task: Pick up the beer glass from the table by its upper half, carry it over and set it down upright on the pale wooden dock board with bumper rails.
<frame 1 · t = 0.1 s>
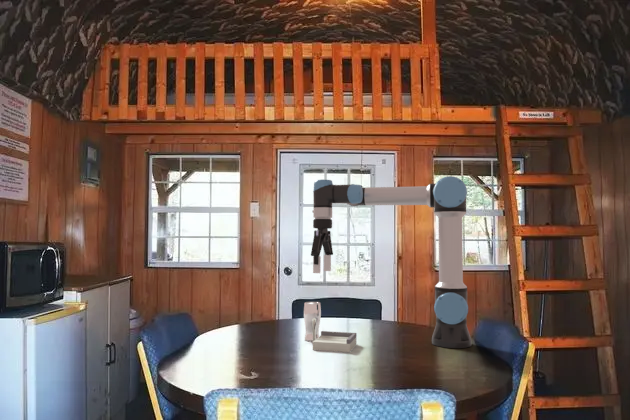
hand: (322, 272, 205), 28 cm above the table, fingers open, 13 cm apart
beer glass: (312, 340, 211), on the table
dock: (335, 347, 197), on the table
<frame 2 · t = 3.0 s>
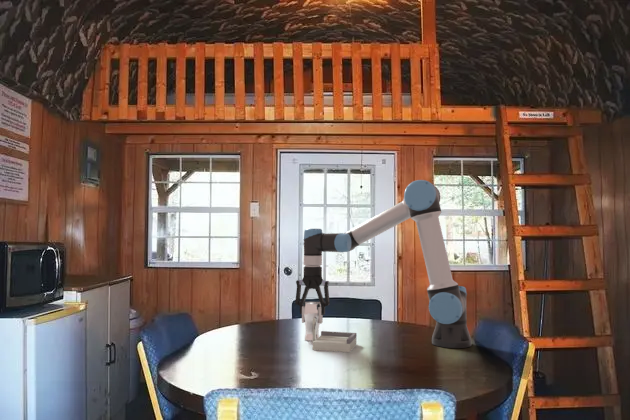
hand: (312, 322, 211), 7 cm above the table, fingers closed on beer glass, 7 cm apart
beer glass: (312, 340, 211), on the table, touching gripper
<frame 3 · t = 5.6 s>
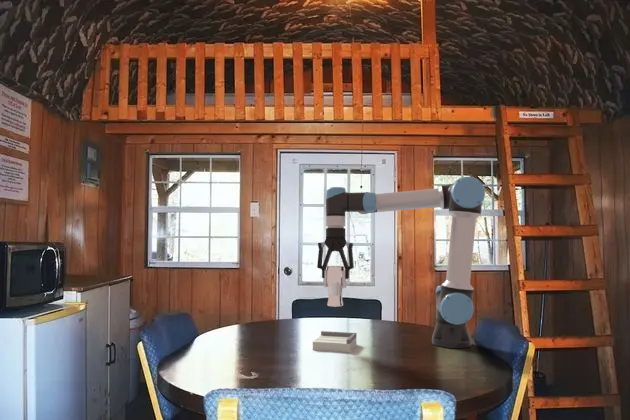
hand: (335, 287, 198), 23 cm above the table, fingers closed on beer glass, 7 cm apart
beer glass: (335, 306, 198), point 16 cm above the table, touching gripper
when the fingers open (11 cm above the table, at t = 8.1 s): beer glass stays where it is, resting on dock.
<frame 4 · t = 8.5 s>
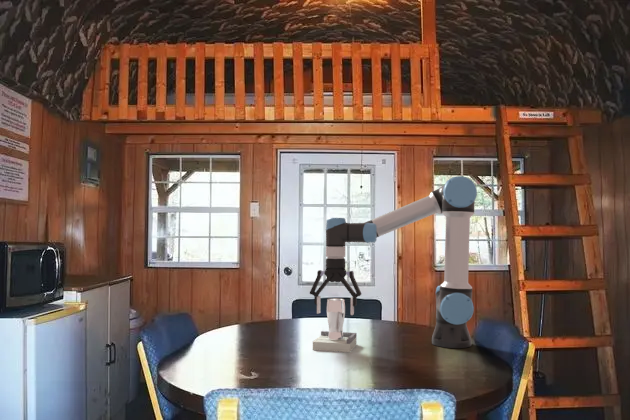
hand: (335, 314, 198), 13 cm above the table, fingers open, 12 cm apart
beer glass: (335, 339, 197), point 3 cm above the table, touching dock
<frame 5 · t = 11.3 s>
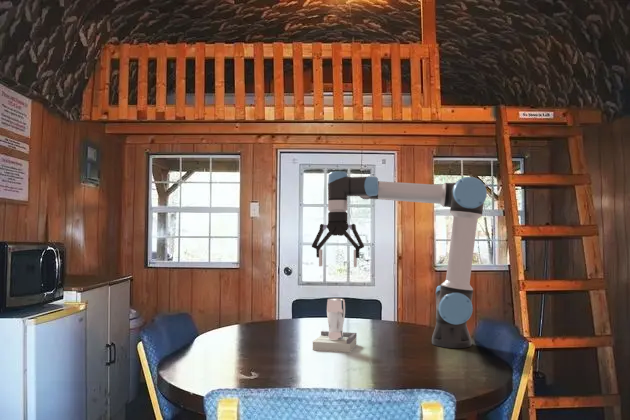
hand: (337, 266, 200), 31 cm above the table, fingers open, 13 cm apart
nothing on the table moved.
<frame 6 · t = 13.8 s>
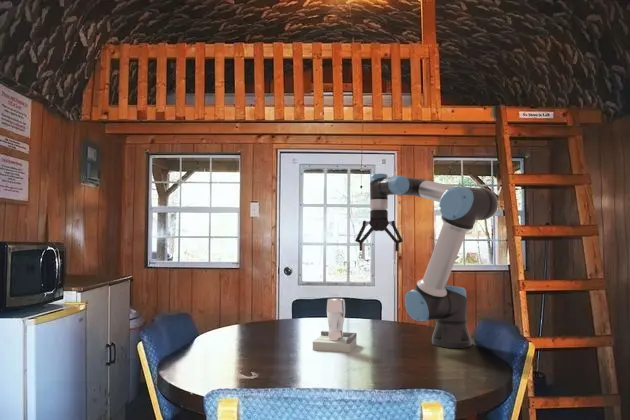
hand: (378, 258, 223), 33 cm above the table, fingers open, 13 cm apart
nothing on the table moved.
at the end: beer glass inside the target area on the dock (0.3 cm from its centre), point 2.9 cm above the dock's base; beer glass tilted 0°; the gripper is holding nothing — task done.
